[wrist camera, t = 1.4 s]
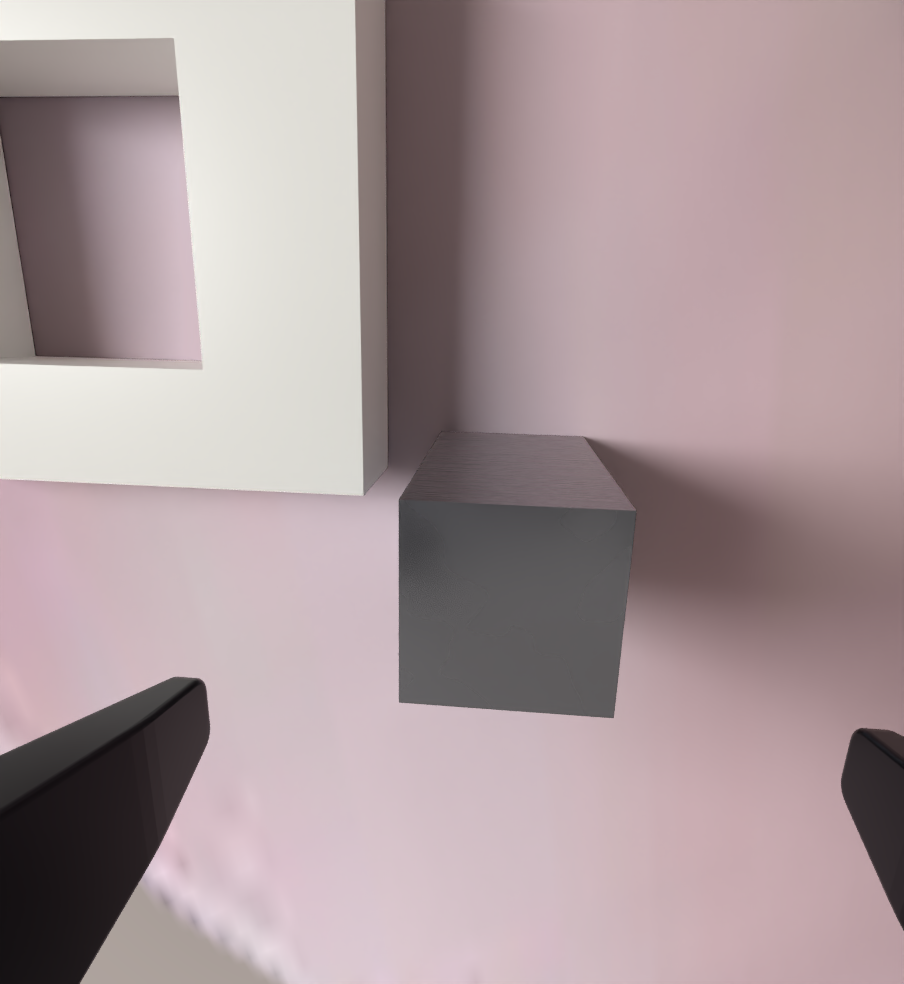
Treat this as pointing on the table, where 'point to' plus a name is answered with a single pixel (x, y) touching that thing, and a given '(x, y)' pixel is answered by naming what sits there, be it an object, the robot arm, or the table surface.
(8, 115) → the table surface
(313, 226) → the square frame
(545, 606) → the dark grey square post
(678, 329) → the table surface
